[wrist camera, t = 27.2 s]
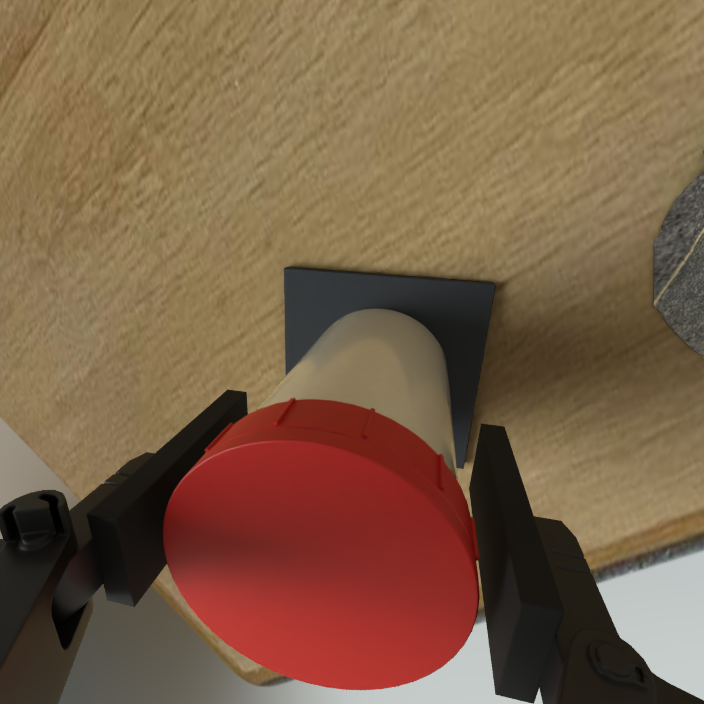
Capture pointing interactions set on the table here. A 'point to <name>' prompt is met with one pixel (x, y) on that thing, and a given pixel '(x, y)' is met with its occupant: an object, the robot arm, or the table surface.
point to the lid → (326, 546)
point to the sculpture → (682, 266)
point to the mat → (405, 297)
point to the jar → (379, 374)
